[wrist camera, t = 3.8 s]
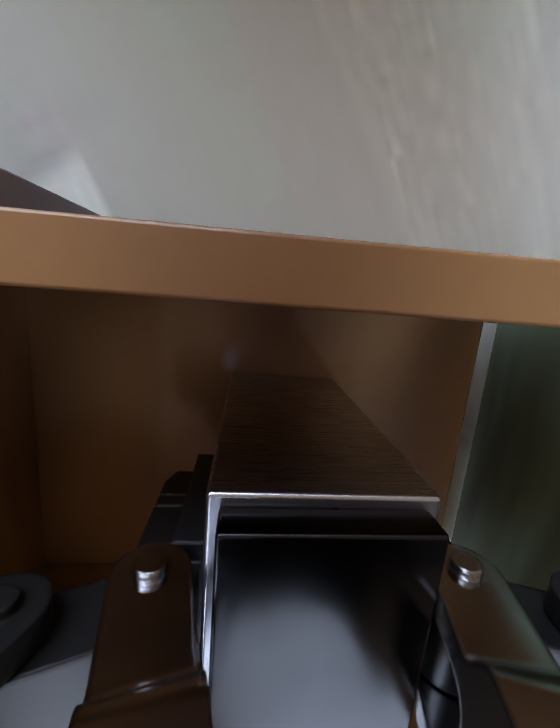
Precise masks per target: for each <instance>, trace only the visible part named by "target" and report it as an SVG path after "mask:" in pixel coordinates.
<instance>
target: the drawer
mask: <svg viewBox="0 0 560 728" xmlns="http://www.w3.org/2000/svg"><path fill="white" fill-rule="evenodd" d="M483 322H488V323H498V324H497V329H496V334H495V338H494V343H493V348H492V352H491V357H490V362H489V367H488V371H487V376H486V381H485V385H484V390H483V395H482V399H481V404H480V409H479V413H478V418H477V423H476V427H475V432H474V437H473V441H472V446H471V451H470V455H469V460H468V465H467V469H466V474H465V479H464V483H463V488H462V493H461V497H460V502H459V507H458V511H457V516H456V521H455V525H454V530H453V535H452V540H451V543H452V544H455V545H459V546H463V547H466V548H468V549H470V550H473V551H475V552H477V553H478V554H480V555H482V556H483V557H485V558H486V559H488V560H489V561H490V562H491V563H492V564H494V565H495V566H496V567H497V569H498V570H499V571H500V572H501V573H502V575H503V576H504V578H505V580H506V581H508V582H512V583H516V584H520V585H524V586H528V587H532V588H536V589H540V590H544V591H546V590H547V587H548V583H549V580H550V577H551V575H552V574H553V573H555V572H558V571H560V260H553V259H542V258H532V257H521V256H511V255H501V254H490V253H480V252H469V251H459V250H449V249H438V248H428V247H417V246H407V245H397V244H386V243H376V242H366V241H355V240H345V239H334V238H324V237H314V236H303V235H293V234H282V233H272V232H262V231H251V230H241V229H230V228H220V227H210V226H199V225H189V224H179V223H168V222H158V221H147V220H137V219H127V218H116V217H106V216H95V215H85V214H75V213H64V212H54V211H43V210H33V209H23V208H12V207H2V206H0V577H1V576H5V575H9V574H14V573H21V572H31V573H37V574H40V575H43V576H45V577H46V578H47V579H48V580H49V581H50V583H51V586H52V594H55V593H58V592H62V591H66V590H70V589H74V588H78V587H81V586H85V585H89V584H92V583H95V582H97V581H100V580H102V579H104V578H106V577H108V574H109V572H110V570H111V568H112V566H113V565H114V564H115V562H116V561H117V560H118V559H119V558H120V557H122V556H123V555H124V554H126V553H127V552H129V551H130V550H132V549H134V548H137V545H138V543H139V541H140V539H141V536H142V534H143V532H144V529H145V527H146V525H147V522H148V520H149V518H150V516H151V513H152V511H153V509H154V507H155V504H156V502H157V499H158V497H159V496H160V492H161V490H162V488H163V486H164V483H165V481H166V480H167V479H169V478H170V477H171V476H172V475H173V474H175V473H176V472H177V471H193V470H194V467H195V464H196V460H197V457H198V454H214V453H215V449H216V444H217V439H218V434H219V430H220V425H221V420H222V415H223V411H224V406H225V401H226V396H227V392H228V387H229V382H230V377H231V374H249V375H267V376H285V377H304V378H322V379H333V380H334V381H335V382H336V383H337V384H338V385H339V386H340V387H341V388H342V390H343V391H344V392H345V393H346V394H347V395H348V396H349V397H350V398H351V399H352V401H353V402H354V403H355V404H356V405H357V406H358V407H359V408H360V409H361V410H362V411H363V413H364V414H365V415H366V416H367V417H368V418H369V419H370V420H371V421H372V422H373V424H374V425H375V426H376V427H377V428H378V429H379V430H380V431H381V432H382V433H383V435H384V436H385V437H386V438H387V439H388V440H389V441H390V442H391V443H392V444H393V446H394V447H395V448H396V449H397V450H398V451H399V452H400V453H401V454H402V455H403V456H404V458H405V459H406V460H407V461H408V462H409V463H410V464H411V465H412V466H413V467H414V469H415V470H416V471H417V472H418V473H419V474H420V475H421V476H422V477H423V478H424V480H425V481H426V482H427V483H428V484H429V485H430V486H431V487H432V488H433V489H434V491H435V492H436V493H437V494H438V495H439V496H440V500H441V503H440V508H439V513H438V518H437V522H438V523H439V524H440V526H442V522H443V517H444V512H445V507H446V502H447V497H448V492H449V487H450V483H451V478H452V473H453V468H454V463H455V458H456V453H457V448H458V443H459V439H460V434H461V429H462V424H463V419H464V414H465V409H466V404H467V400H468V395H469V390H470V385H471V380H472V375H473V370H474V365H475V360H476V356H477V351H478V346H479V341H480V336H481V331H482V326H483ZM199 651H200V643H199ZM409 728H418V726H417V721H416V717H415V712H414V707H413V712H412V716H411V721H410V726H409Z"/></svg>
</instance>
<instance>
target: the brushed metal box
mask: <svg viewBox="0 0 560 728" xmlns="http://www.w3.org/2000/svg"><path fill="white" fill-rule="evenodd" d="M440 503H441V500H440V496H439V495H438V494H437V493H436V492H435V491H434V489H433V488H432V487H431V486H430V485H429V484H428V483H427V482H426V481H425V480H424V478H423V477H422V476H421V475H420V474H419V473H418V472H417V471H416V470H415V469H414V467H413V466H412V465H411V464H410V463H409V462H408V461H407V460H406V459H405V458H404V456H403V455H402V454H401V453H400V452H399V451H398V450H397V449H396V448H395V447H394V446H393V444H392V443H391V442H390V441H389V440H388V439H387V438H386V437H385V436H384V435H383V433H382V432H381V431H380V430H379V429H378V428H377V427H376V426H375V425H374V424H373V422H372V421H371V420H370V419H369V418H368V417H367V416H366V415H365V414H364V413H363V411H362V410H361V409H360V408H359V407H358V406H357V405H356V404H355V403H354V402H353V401H352V399H351V398H350V397H349V396H348V395H347V394H346V393H345V392H344V391H343V390H342V388H341V387H340V386H339V385H338V384H337V383H336V382H335V381H334V380H333V379H322V378H304V377H285V376H267V375H249V374H231V377H230V382H229V387H228V392H227V396H226V401H225V406H224V411H223V415H222V420H221V425H220V430H219V434H218V439H217V444H216V449H215V453H214V458H213V463H212V468H211V472H210V477H209V482H208V486H207V491H206V501H205V529H204V556H203V583H202V610H201V638H200V661H201V668H202V670H203V669H205V671H206V675H207V681H208V688H209V696H210V705H211V714H212V723H213V728H409V726H410V721H411V716H412V712H413V707H414V702H415V697H416V693H417V688H418V683H419V679H420V674H421V669H422V665H423V660H424V655H425V651H426V646H427V641H428V637H429V632H430V627H431V623H432V618H433V613H434V608H435V604H436V599H437V594H438V590H439V585H440V580H441V576H442V571H443V566H444V562H445V557H446V552H447V548H448V543H449V536H448V534H447V533H446V532H445V531H444V529H443V528H442V527H441V526H440V524H439V523H438V522H437V518H438V513H439V508H440Z"/></svg>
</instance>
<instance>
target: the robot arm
mask: <svg viewBox="0 0 560 728" xmlns="http://www.w3.org/2000/svg"><path fill="white" fill-rule="evenodd" d="M213 458H214V454H198V457H197V460H196V464H195V467H194V470H193V471H177V472H176V473H175V474H173V475H172V476H171V477H170V478H169V479H167V480H166V481H165V483H164V486H163V488H162V490H161V492H160V496H159V497H158V499H157V502H156V504H155V507H154V509H153V511H152V513H151V516H150V518H149V520H148V522H147V525H146V527H145V529H144V532H143V534H142V536H141V539H140V541H139V543H138V545H137V548H134V549H132V550H130V551H129V552H127V553H126V554H124V555H123V556H122V557H120V558H119V559H118V560H117V561H116V562H115V564H114V565H113V566H112V568H111V570H110V572H109V574H108V577H106V578H104V579H102V580H100V581H97V582H95V583H92V584H89V585H85V586H81V587H78V588H74V589H70V590H66V591H62V592H58V593H55V594H52V586H51V583H50V581H49V580H48V579H47V578H46V577H45V576H43V575H40V574H37V573H31V572H21V573H14V574H9V575H5V576H1V577H0V728H213V723H212V714H211V705H210V696H209V688H208V681H207V675H206V671H205V669H203V670H202V668H201V661H200V651H199V643H200V638H201V610H202V583H203V556H204V529H205V501H206V491H207V486H208V482H209V477H210V472H211V468H212V463H213ZM414 712H415V717H416V721H417V726H418V728H560V571H558V572H555V573H553V574H552V575H551V577H550V580H549V583H548V587H547V590H546V591H544V590H540V589H536V588H532V587H528V586H524V585H520V584H516V583H512V582H508V581H506V580H505V578H504V576H503V575H502V573H501V572H500V571H499V570H498V569H497V567H496V566H495V565H494V564H492V563H491V562H490V561H489V560H488V559H486V558H485V557H483V556H482V555H480V554H478V553H477V552H475V551H473V550H470V549H468V548H466V547H463V546H459V545H455V544H452V543H451V542H450V540H449V543H448V548H447V552H446V557H445V562H444V566H443V571H442V576H441V580H440V585H439V590H438V594H437V599H436V604H435V608H434V613H433V618H432V623H431V627H430V632H429V637H428V641H427V646H426V651H425V655H424V660H423V665H422V669H421V674H420V679H419V683H418V688H417V693H416V697H415V702H414Z"/></svg>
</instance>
